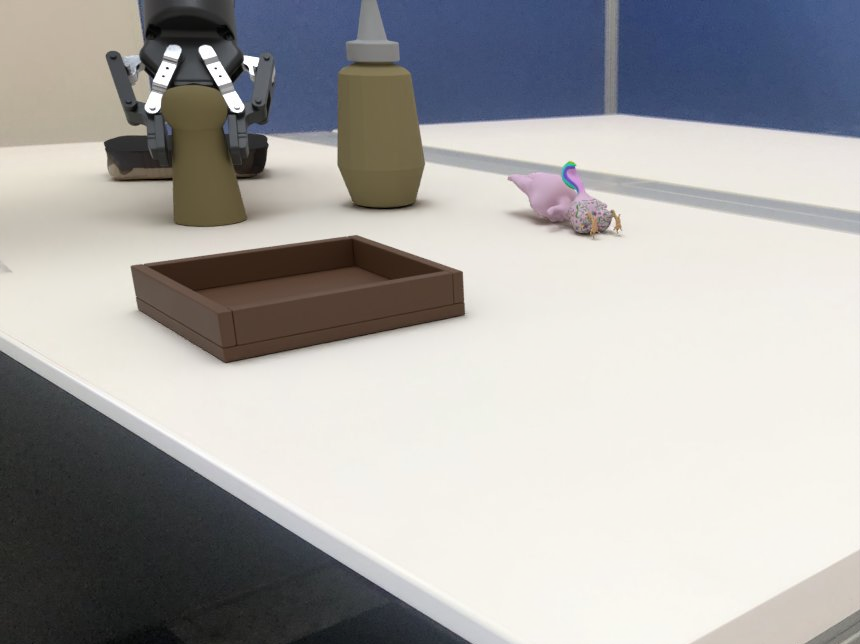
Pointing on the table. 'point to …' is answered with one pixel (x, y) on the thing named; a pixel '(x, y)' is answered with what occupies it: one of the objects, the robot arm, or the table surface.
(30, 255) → the table surface
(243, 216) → the cork
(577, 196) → the pink figurine
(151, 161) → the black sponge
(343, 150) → the squeeze bottle
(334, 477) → the table surface
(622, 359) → the table surface
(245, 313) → the tray
